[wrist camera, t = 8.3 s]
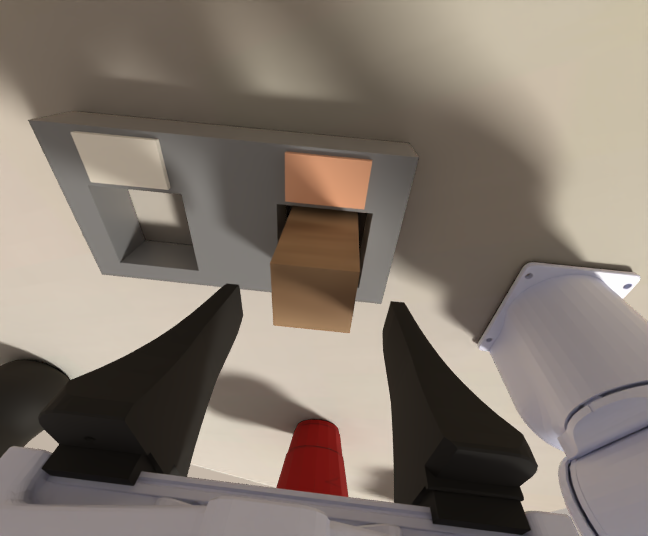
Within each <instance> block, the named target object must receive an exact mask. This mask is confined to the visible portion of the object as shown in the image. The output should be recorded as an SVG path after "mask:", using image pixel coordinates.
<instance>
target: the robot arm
mask: <svg viewBox="0 0 648 536" xmlns="http://www.w3.org/2000/svg"><path fill="white" fill-rule="evenodd" d="M529 273H530V274H529ZM527 274H529V275H527ZM526 275H527V276H526ZM639 281H640V276H639V275H638V274H636V273H634V272H625V271H615V270H605V269H595V268H586V267H576V266H566V265H556V264H547V263H537V262H530V263H527V264H526V265H524V267H523V268H522V270H521V271H520V273H519V275H518V277H517V278H516V280H515V282H514V283H513V285H512V287H511V288H510V290H509V292H508V293H507V295H506V297H505V298H504V300H503V302H502V304H501V305H500V307H499V309H498V310H497V312H496V314H495V315H494V317H493V319H492V320H491V322H490V324H489V326H488V327H487V329H486V331H485V332H484V334H483V336H482V337H481V339H480V341H479V342H478V345H477V346H478V348H479V349H480V350H482V351H489V352H490V354H491V356H492V358H493V360H494V363H495V365H496V367H497V369H498V371H499V373H500V375H501V378H502V380H503V382H504V384H505V386H506V388H507V390H508V393H509V395H510V397H511V399H512V401H513V403H514V405H515V407H516V410H517V411H518V413H519V415H520V416H521V418H522V419H523V421H524V422H525V423H526V424H527V425H528V427H529V428H530V429H531V430H532V431H533V432H534V433H535V434H536V435H538V436H539V437H540V438H541V439H542V440H544V441H545V442H546V443H548V444H550V445H551V446H553V447H555V448H557V449H559V450H561V451H564V452H565V454H566V456H567V457H565V458H564V459H563V460H562V461H561V463H560V465H559V470H558V477H559V485H560V488H561V492H562V495H563V498H564V501H565V504H566V507H567V509H568V511H569V514H570V516H571V517H572V519H571V518H570V517H569V516H568V515H565V514H557V513H549V512H541V511H527V512H524V510H523V507H522V504H521V502H520V501H523V500H524V497H523V494H522V491H521V489H520V486H521V485H522V484H523V483H524V482H526V481H527V480H528V479H530V478H531V477H532V476H533V475H534V474H535V473H536V471H537V467H538V465H537V463H536V461H535V459H534V456H533V454H532V452H531V449H530V447H529V445H528V443H527V442H526V440H525V438H524V436H523V434H522V433H520V432H519V431H518V430H517V429H515V428H514V427H513V426H511V425H510V424H509V423H508V422H506V421H505V420H504V419H503V418H501V417H500V416H499V415H497V414H496V413H495V412H494V411H493V410H492V409H490V408H489V407H488V406H487V405H486V404H485V403H484V402H482V401H481V400H480V399H479V398H478V397H477V396H476V395H475V394H474V393H473V392H472V391H471V390H470V389H469V388H468V387H467V386H466V385H465V384H464V383H463V382H462V381H461V380H460V379H459V378H458V377H457V376H456V375H455V374H454V373H453V372H452V371H451V369H450V368H449V367H448V366H447V365H446V364H445V362H444V361H443V360H442V359H441V357H440V356H439V355H438V354H437V352H436V351H435V350H434V348H433V347H432V345H431V344H430V343H429V341H428V340H427V338H426V337H425V335H424V334H423V332H422V331H421V329H420V328H419V326H418V325H417V323H416V321H415V320H414V318H413V316H412V315H411V313H410V311H409V310H408V308H407V306H406V305H405V303H402V302H393V301H391V303H390V307H389V310H388V314H387V317H386V321H385V324H384V328H383V353H384V360H385V366H386V373H387V379H388V385H389V392H390V399H391V411H392V430H393V456H394V503H391V502H383V501H375V500H367V499H359V498H351V497H343V496H335V495H327V494H319V493H311V492H303V491H295V490H287V489H279V488H271V487H263V486H255V485H247V484H239V483H231V482H223V481H215V480H206V479H199V478H191V477H187V474H188V470H189V467H190V463H191V459H192V456H193V452H194V448H195V445H196V442H197V438H198V435H199V431H200V428H201V425H202V422H203V419H204V415H205V412H206V409H207V406H208V403H209V400H210V397H211V394H212V391H213V388H214V386H215V383H216V380H217V378H218V376H219V373H220V371H221V369H222V367H223V365H224V363H225V360H226V358H227V356H228V354H229V352H230V350H231V347H232V345H233V343H234V341H235V338H236V336H237V334H238V331H239V328H240V324H241V321H242V318H243V310H242V303H241V295H240V287H239V285H237V284H228V283H226V284H225V285H224V286H223V287H222V288H220V289H219V290H218V291H217V292H216V293H215V294H214V295H213V296H211V297H210V298H209V299H208V300H207V301H206V302H205V303H203V304H202V305H201V306H200V307H199V308H197V309H196V310H195V311H194V312H193V313H191V314H190V315H189V316H187V317H186V318H185V319H184V320H182V321H181V322H180V323H178V324H177V325H176V326H174V327H173V328H171V329H170V330H169V331H167V332H166V333H164V334H162V335H161V336H159V337H158V338H156V339H155V340H153V341H151V342H149V343H148V344H146V345H144V346H142V347H141V348H139V349H137V350H135V351H134V352H132V353H130V354H128V355H126V356H124V357H122V358H120V359H118V360H116V361H114V362H112V363H110V364H107V365H105V366H103V367H101V368H99V369H96V370H94V371H91V372H89V373H87V374H84V375H82V376H79V377H77V378H75V379H72V380H69V381H68V382H67V383H66V384H65V385H64V386H63V388H62V389H61V390H60V391H59V392H58V393H57V394H56V395H55V397H54V398H53V399H52V400H51V401H50V402H49V403H48V405H47V406H46V407H45V408H44V409H43V410H42V411H41V413H40V414H39V416H38V420H39V424H40V425H41V426H42V428H43V429H44V430H45V431H46V432H47V433H48V434H50V435H51V436H52V437H53V438H54V439H55V440H56V441H57V442H58V443H59V446H58V447H57V448H56V450H55V451H54V452H53V453H51V452H48V451H46V450H41V449H33V448H25V447H17V446H13V447H10V448H9V449H8V450H7V451H6V452H5V453H4V455H3V456H2V457H1V458H0V536H579V534H578V532H577V530H576V528H575V526H574V524H573V522H572V520H573V521H574V523H575V525H576V527H577V529H578V530H579V532H580V533H581V535H582V536H648V321H647V320H646V319H645V318H643V317H642V316H641V315H640V314H639V313H638V312H637V311H636V310H634V309H633V308H632V307H631V306H630V305H629V304H628V303H627V302H626V301H624V300H623V298H624V297H625V296H626V295H627V294H628V293H629V292H630V291H631V290H632V289H633V287H634V286H635V285H636V284H637V283H638V282H639Z"/></svg>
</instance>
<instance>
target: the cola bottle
mask: <svg viewBox="0 0 648 536" xmlns="http://www.w3.org/2000/svg"><path fill="white" fill-rule="evenodd" d="M68 381H69V379H68V378H67V377H66V376H65V375H64V374H63V373H62V372H60V371H59V370H57V369H55V368H54V367H52V366H49V365H47V364H44V363H41V362H37V361H31V360H16V361H12V362H9V363H6V364H4V365H2V366H0V458H1V457H2V456H3V455H4V453H5V452H6V451H7V450H8V449H9V448H10V447H13V446H17V447H24V446H25V445H26V444H27V443H28V442H29V441H30V440H31V439H32V438H34V437H35V436H36V435H38V434H39V433H40V432H42V431H43V430H44V429H43V428H42V426H41V425H40V424H39V420H38V416H39V414H40V413H41V411H42V410H43V409H44V408H45V407H46V406H47V405H48V403H49V402H50V401H51V400H52V399H53V398H54V397H55V395H56V394H57V393H58V392H59V391H60V390H61V389H62V388H63V386H64V385H65V384H66V383H67V382H68Z"/></svg>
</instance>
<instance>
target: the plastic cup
mask: <svg viewBox="0 0 648 536" xmlns="http://www.w3.org/2000/svg"><path fill="white" fill-rule="evenodd" d="M277 488H279V489H287V490H295V491H303V492H311V493H319V494H327V495H335V496H343V497H348V490H347V483H346V475H345V468H344V460H343V457H342V449H341V440H340V434H339V430H338V428H337V427H336V426H335V425H334V424H332V423H330V422H328V421H323V420H315V419H310V420H305V421H302V422H300V423H299V424H298V425H297V427H296V429H295V431H294V434H293V437H292V440H291V444H290V447H289V450H288V453H287V454H286V457H285V461H284V464H283V467H282V471H281V474H280V477H279V481H278V484H277Z"/></svg>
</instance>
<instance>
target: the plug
mask: <svg viewBox="0 0 648 536" xmlns="http://www.w3.org/2000/svg"><path fill="white" fill-rule="evenodd" d="M270 272H271V290H272V307H273V325H275V326H285V327H295V328H304V329H314V330H324V331H334V332H343V333H350V328H351V322H352V316H353V310H354V304H355V298H356V293H357V287H358V281H359V275H360V258H359V232H358V212H352V211H342V210H332V209H322V208H312V207H302V206H292V209H291V211H290V214H289V216H288V219H287V222H286V224H285V227H284V229H283V232H282V234H281V237H280V239H279V242H278V244H277V247H276V249H275V252H274V254H273V257H272V259H271V262H270Z"/></svg>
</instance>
